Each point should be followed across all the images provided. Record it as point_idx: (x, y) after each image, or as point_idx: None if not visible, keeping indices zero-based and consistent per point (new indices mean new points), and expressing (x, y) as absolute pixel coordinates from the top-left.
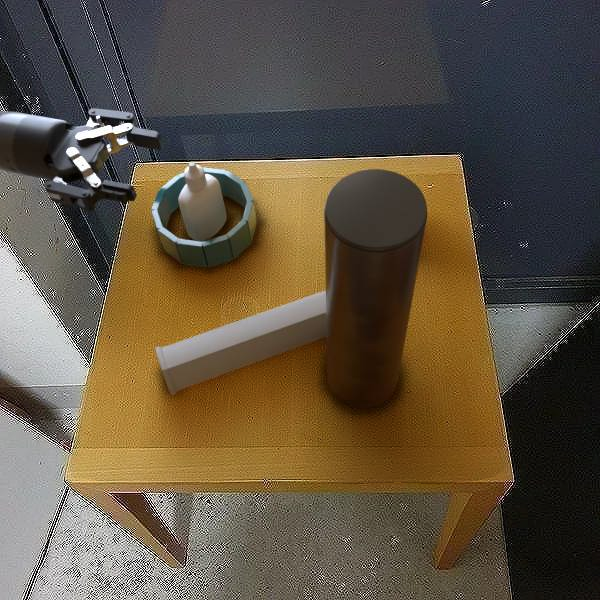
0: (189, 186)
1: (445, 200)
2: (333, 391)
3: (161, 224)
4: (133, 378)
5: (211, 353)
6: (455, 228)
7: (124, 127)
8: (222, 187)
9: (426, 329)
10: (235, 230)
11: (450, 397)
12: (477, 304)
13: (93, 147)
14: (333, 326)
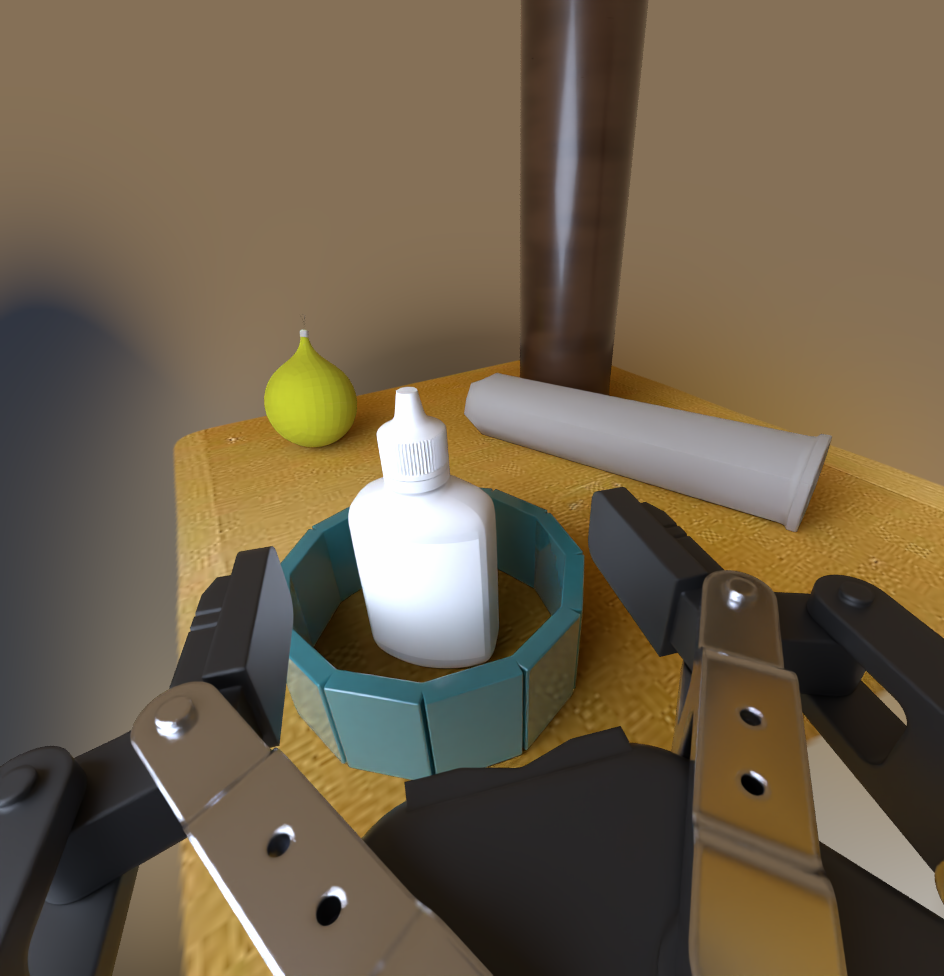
0: (448, 464)
1: (259, 425)
2: None
3: (555, 613)
4: (871, 563)
5: (722, 419)
6: None
7: (187, 728)
8: (304, 630)
9: None
10: None
11: None
12: (413, 383)
13: (496, 848)
14: (625, 216)
